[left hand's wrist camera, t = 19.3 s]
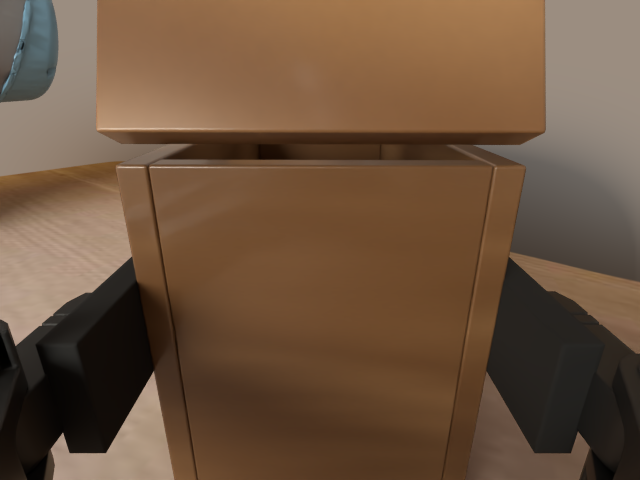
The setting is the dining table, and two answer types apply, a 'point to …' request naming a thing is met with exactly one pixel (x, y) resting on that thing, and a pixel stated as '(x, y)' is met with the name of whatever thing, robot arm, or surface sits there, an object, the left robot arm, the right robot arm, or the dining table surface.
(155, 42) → the lid
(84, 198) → the dining table surface
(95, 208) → the dining table surface
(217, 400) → the chest
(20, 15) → the right robot arm
